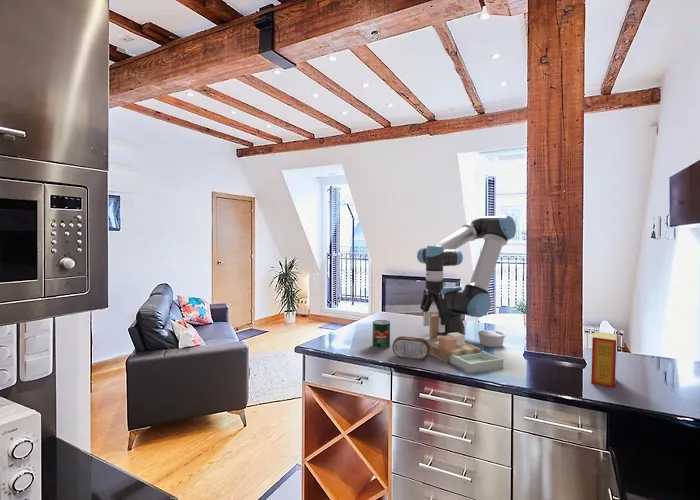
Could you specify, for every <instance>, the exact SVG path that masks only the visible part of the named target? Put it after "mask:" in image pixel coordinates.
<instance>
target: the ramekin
mask: <svg viewBox="0 0 700 500" xmlns="http://www.w3.org/2000/svg"><path fill="white" fill-rule="evenodd" d="M477 334H478V339H479V343H480V344H481V345H482V346H484V347H489V348H500V347H503V344H504V340H505V337H506V334H505V333H503V332H501V331H497V330H489V329H484V330H479V331H478V333H477Z"/></svg>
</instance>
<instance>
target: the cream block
mask: <svg viewBox="0 0 700 500" xmlns="http://www.w3.org/2000/svg"><path fill="white" fill-rule="evenodd" d="M446 336H450V337H452V338H455V339H457V343H456V346H457V345H465V337H466V336H465V334H460V333H458V332H455V333H447V335H446Z"/></svg>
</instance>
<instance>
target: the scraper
mask: <svg viewBox="0 0 700 500" xmlns="http://www.w3.org/2000/svg"><path fill="white" fill-rule="evenodd" d="M446 336H447V335H445V334H442V335H439V333H438V314H429V336H426V337H425V336H424V337H421V338H422V339H424V340H426V341H427V342H428V343H432V342H439V337H446Z"/></svg>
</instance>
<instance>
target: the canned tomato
mask: <svg viewBox="0 0 700 500" xmlns="http://www.w3.org/2000/svg"><path fill="white" fill-rule="evenodd" d="M390 347H391V321H389V320H385V319H377V320H373V321H372V348H373V349H379V350H385V349H389V348H390Z"/></svg>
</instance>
